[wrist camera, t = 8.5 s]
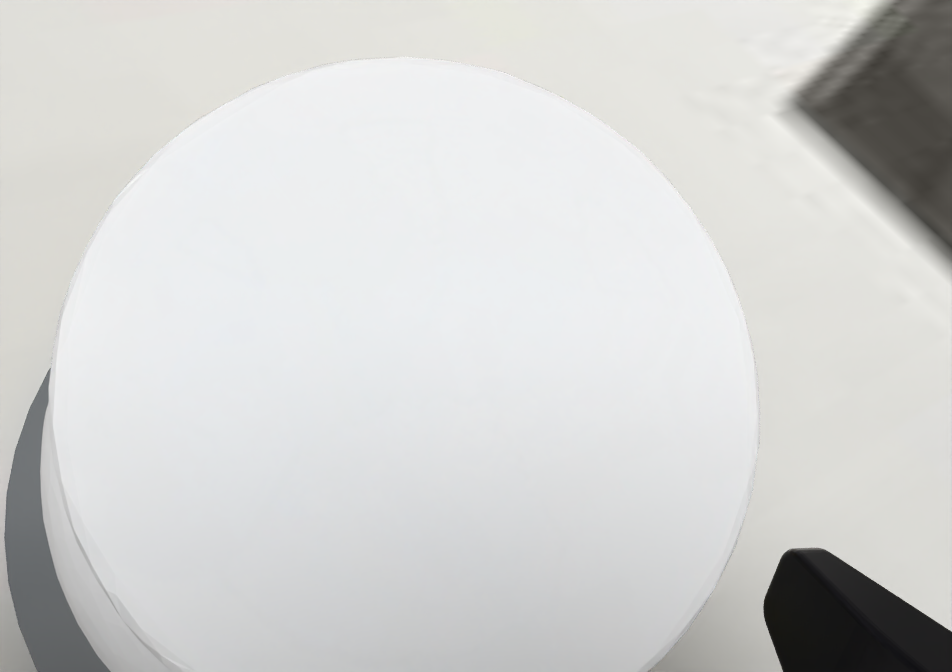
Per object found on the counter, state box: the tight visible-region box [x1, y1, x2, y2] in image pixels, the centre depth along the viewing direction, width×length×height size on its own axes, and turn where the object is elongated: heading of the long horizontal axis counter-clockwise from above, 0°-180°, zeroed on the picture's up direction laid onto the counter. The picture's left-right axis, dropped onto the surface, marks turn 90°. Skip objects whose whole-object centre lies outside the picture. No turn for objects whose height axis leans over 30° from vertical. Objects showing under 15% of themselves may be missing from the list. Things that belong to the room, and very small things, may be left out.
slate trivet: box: [4, 368, 111, 672], centre depth 18 cm, size 13×13×1 cm
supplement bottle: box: [40, 57, 760, 672], centre depth 11 cm, size 7×7×13 cm
